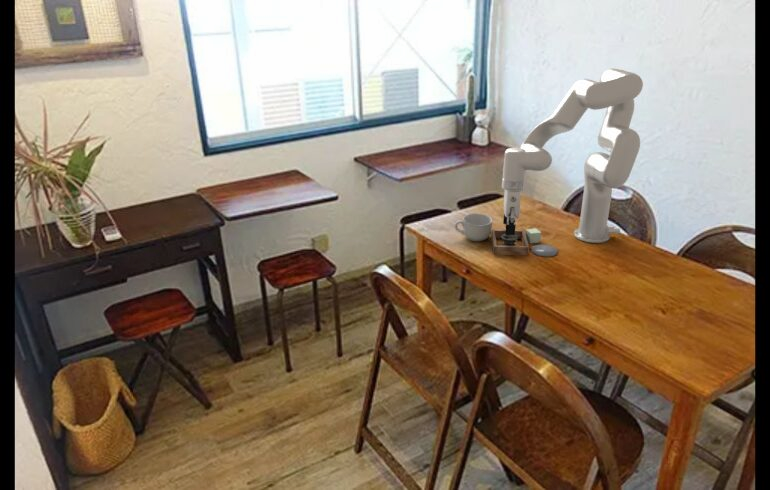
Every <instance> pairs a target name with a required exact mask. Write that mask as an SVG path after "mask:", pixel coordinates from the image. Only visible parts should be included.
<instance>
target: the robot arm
mask: <svg viewBox="0 0 770 490" xmlns="http://www.w3.org/2000/svg"><path fill="white" fill-rule="evenodd" d="M643 87H644V83H643V80H642V78H641V76H640V75H638V74H637V73H635V72H630V71H626V70H625V69H624V70H623V69H619V68H607V69H605V70H604V71H603V72H602V74H601V75H600V77H599V81H596V80H593V79H590V78H589V79H588V78H582V79H579V80H576V82H574V84H572V86H571V87H570V88H569V89H568V91H567V93H566V95H565V96H564V97H563V99H562V100H561V101H560V103H559V104H558V106H556V108H555V109H554V111H553V112H552V114H550V116H549V117H547V118H546V119H544V120H543V121H542V122H540V123H539V124H538V125H536V126H535V127H534V128H533V129H532V130H531V131H530V132H529V133H528V135H527V136H526V138H525V139H524V140H523V142H521V143H522V144H521V145H520V147H516V146H515V147H509V148H507V149H506V150H505V151H504V155H503V156H504V158H503V169H502V179H501V180H502V181H501V189H503V190H504V195H503V211H504V213H503V214H504V215H503V225H505V226H506V227H505V230H506V231H505V234H506V235H515V230H516V227H517V226H516V218H517V219H519V218H520V212H521V197H522V196H521V194H522V193H521V192H522V191H523V190H524V188H525V179H526V171H532V172H543V171H546V170H547V169H549V167H551V164H552V161H553V157H552V155H551V154H550V152H549V151H547V149H544V148H543V147H544V146H545V145H546V144H547V143H548V141H550V140H551V139H553V137H555V136H557V135H560V134H565V133H567V132H570V131H572V130H573V129H575V127H576V125H577V124H578V123H579V122H580V120H581V119H582V117H583V116H584V114H585V113H586V112H587V111H588V109H590V110H594V111H595V110H602V109H606V112H605V115H604V119H603V121H602V124H601V127H600V129H599V132H598V136H597V143H598V145H599V147H600V148H602V149H604V150H605V151H607V152H609V153H610V154H608V153H604V152H600V151H599V152H594V153H592V154H591V155H589V156H588V157H587V158H586V160H585V162H584V166H583V174H584V175H583V177H584V182H583V183H584V185H583V194H582V203H581V211H580V218H579V225H578V226H579V227H578V228H576V229H575V230H574V232H573V236H574V237H575V238H576V239H578V240H579V241H582V242H586V243H591V244H595V243H597V244H599V243H605V242H608V241H609V240H610V238H611V234H617V235H619V234H620V233H621V229H620V228H615V226H613V225H612V226H608V220H609V214H610V208H611V201H612V196H613V195H612V194H613V189H618V188H621V187H622V186H623V185H624V184H626V182H627V181H628V179H629V177H630V174H631V173H632V171H633V170H632V169H633V167H634V165H635V162H636V159H637V156H638V154H639V151H640V149H641V138H640V135H639V134H638V132H637V131H635V130H634V129H632V128H630V126H631V121H632V118H633V115H634V112H635V111H634V110H635V99H636V97H638V96H640V94H641V92H642V91H643ZM509 218H510V220H509Z"/></svg>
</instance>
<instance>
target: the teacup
mask: <svg viewBox="0 0 770 490" xmlns="http://www.w3.org/2000/svg"><path fill="white" fill-rule="evenodd" d="M462 219H463V220H460V219H458V220H456V221H455V222H454V228H455V230H456V231H457V232H459V233H461V234H462V235H463V236H465V237H466V239H468V240H470V241H472V242H482V241H485V240H486V239H488V238H489V237H490V236H491V234H492V226H493V218H492V217H491V216H490V215H487V214H484V213H479V212H477V213H475V212H474V213H473V212H472V213H468V214H465V216H463V218H462ZM459 224H461V226H462V229H460V228H459V227H458V225H459Z"/></svg>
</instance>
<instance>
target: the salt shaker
mask: <svg viewBox="0 0 770 490" xmlns="http://www.w3.org/2000/svg"><path fill="white" fill-rule="evenodd" d="M509 220H510V218H509ZM505 228H506V225H505ZM501 240H502V242H503V243H502V244H501V246H517V244H516V243H517V241H518V236H517V235H506V234H503V235H502V238H501Z"/></svg>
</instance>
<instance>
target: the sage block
mask: <svg viewBox="0 0 770 490" xmlns="http://www.w3.org/2000/svg"><path fill="white" fill-rule="evenodd" d="M525 234H526V238H527V242H528V244H536V243H541V237H542V232H541V231H540V230H539V229H537V228H529V229H526V230H525Z"/></svg>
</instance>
